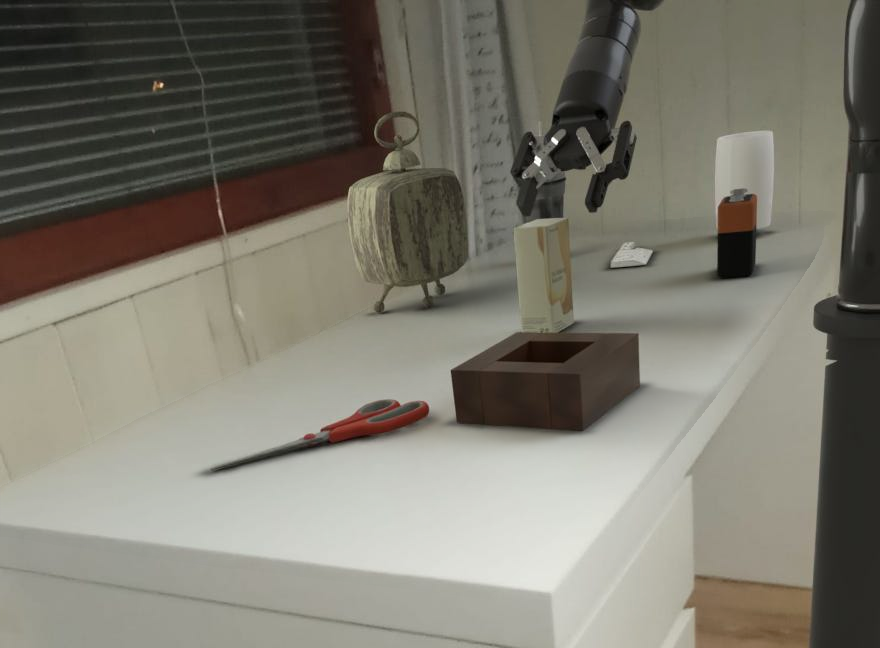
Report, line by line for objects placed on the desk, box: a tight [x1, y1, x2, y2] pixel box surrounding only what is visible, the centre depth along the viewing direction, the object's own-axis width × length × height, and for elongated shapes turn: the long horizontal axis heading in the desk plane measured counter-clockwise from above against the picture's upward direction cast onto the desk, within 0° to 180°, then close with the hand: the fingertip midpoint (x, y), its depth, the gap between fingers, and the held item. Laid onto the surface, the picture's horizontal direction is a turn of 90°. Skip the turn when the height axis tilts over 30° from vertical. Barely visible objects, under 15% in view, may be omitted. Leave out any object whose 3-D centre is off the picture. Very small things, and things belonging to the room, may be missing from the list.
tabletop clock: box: [347, 111, 469, 314], centre depth 135 cm, size 14×9×25 cm, turn 123°
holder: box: [450, 331, 641, 432], centre depth 92 cm, size 13×13×5 cm
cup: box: [714, 130, 775, 231], centre depth 150 cm, size 8×8×14 cm
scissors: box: [210, 398, 430, 471], centre depth 92 cm, size 8×21×2 cm, turn 126°
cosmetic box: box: [513, 217, 575, 333], centre depth 116 cm, size 6×4×12 cm
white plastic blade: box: [610, 241, 654, 269], centre depth 150 cm, size 5×15×1 cm, turn 161°
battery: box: [716, 188, 757, 279], centre depth 129 cm, size 4×7×10 cm, turn 159°
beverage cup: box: [519, 120, 567, 223], centre depth 155 cm, size 7×7×20 cm
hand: (556, 210), depth 116 cm, fingers open, 8 cm apart
